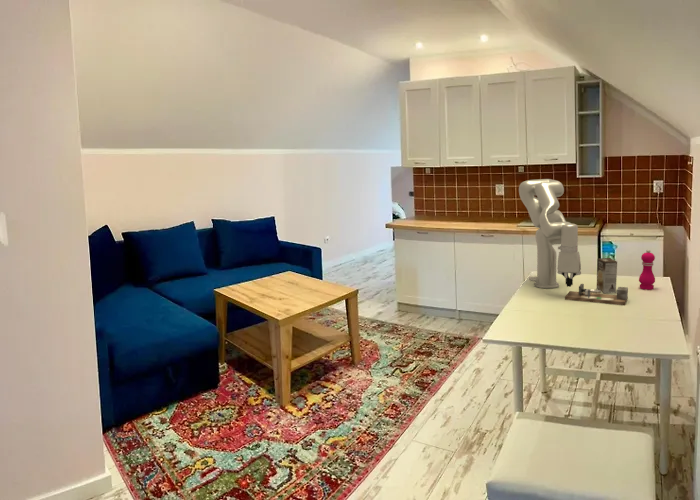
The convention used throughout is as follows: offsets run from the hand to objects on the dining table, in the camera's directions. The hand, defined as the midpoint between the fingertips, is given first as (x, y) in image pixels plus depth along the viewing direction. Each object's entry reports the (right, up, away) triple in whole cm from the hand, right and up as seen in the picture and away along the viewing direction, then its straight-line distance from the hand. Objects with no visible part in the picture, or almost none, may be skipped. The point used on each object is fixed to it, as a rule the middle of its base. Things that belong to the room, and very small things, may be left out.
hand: (569, 286), depth 268 cm
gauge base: (+10, -6, -6) cm, 14 cm away
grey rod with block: (+8, -4, -5) cm, 10 cm away
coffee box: (+21, -3, +7) cm, 23 cm away
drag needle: (+6, -4, -9) cm, 11 cm away
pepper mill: (+42, -2, +8) cm, 43 cm away
